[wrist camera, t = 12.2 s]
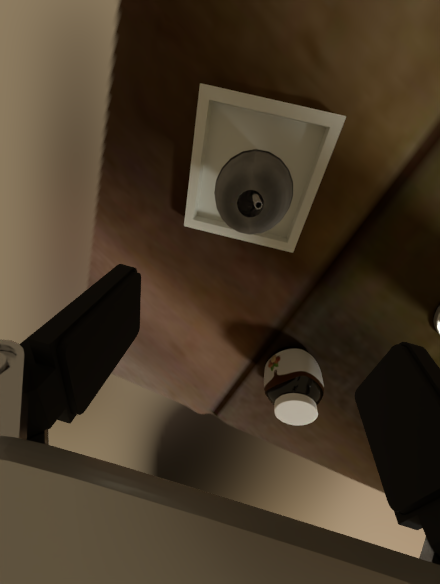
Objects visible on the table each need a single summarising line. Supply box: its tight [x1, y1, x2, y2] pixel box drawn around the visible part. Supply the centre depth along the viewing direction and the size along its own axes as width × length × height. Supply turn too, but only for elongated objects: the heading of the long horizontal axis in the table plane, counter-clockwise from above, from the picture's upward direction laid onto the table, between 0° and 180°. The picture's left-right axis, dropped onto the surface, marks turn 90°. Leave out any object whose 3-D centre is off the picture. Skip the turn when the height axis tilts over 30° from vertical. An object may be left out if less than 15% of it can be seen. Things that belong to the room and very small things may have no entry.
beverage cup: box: [214, 149, 293, 235], centre depth 24 cm, size 7×7×20 cm
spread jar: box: [264, 347, 324, 425], centre depth 46 cm, size 12×11×12 cm
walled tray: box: [184, 83, 346, 253], centre depth 32 cm, size 16×16×3 cm
